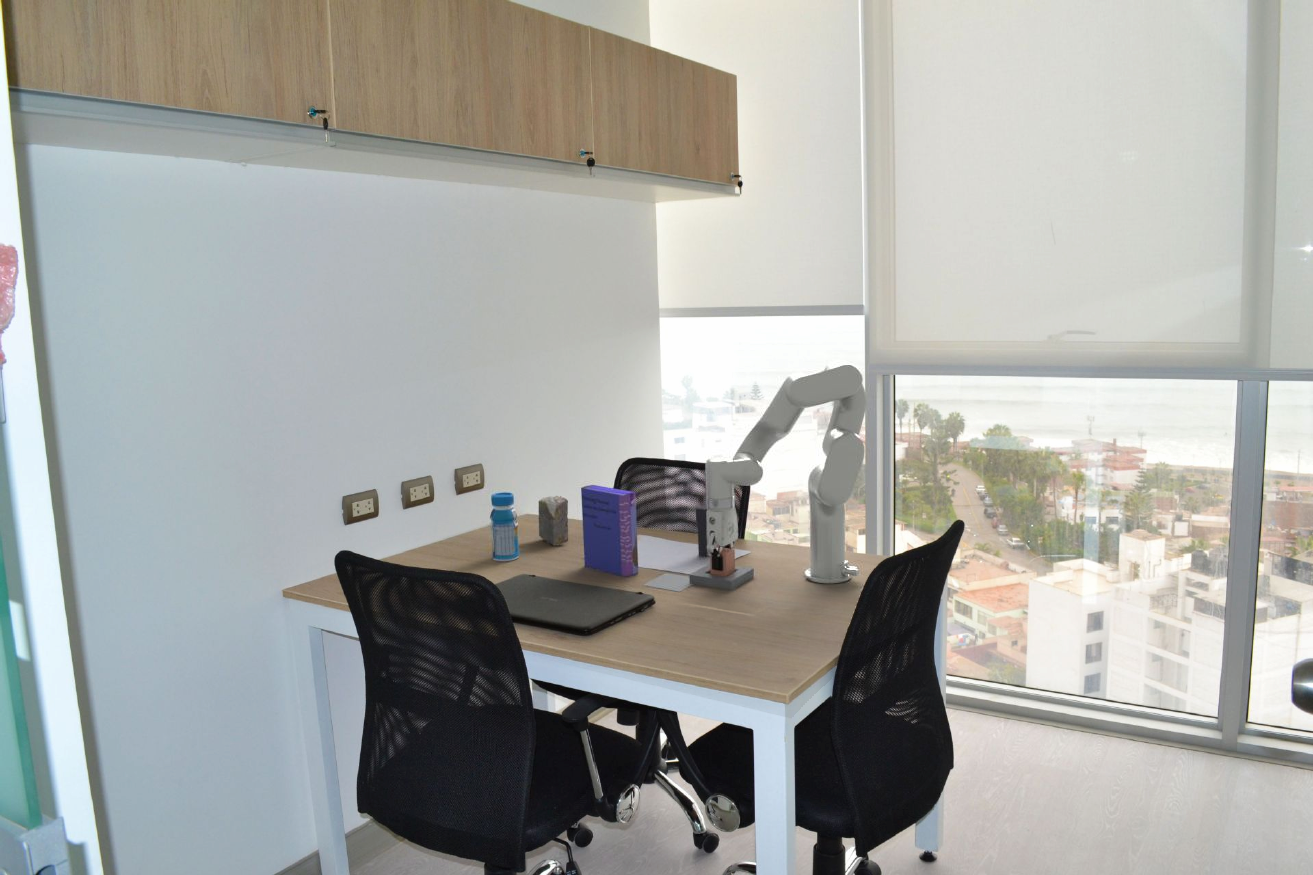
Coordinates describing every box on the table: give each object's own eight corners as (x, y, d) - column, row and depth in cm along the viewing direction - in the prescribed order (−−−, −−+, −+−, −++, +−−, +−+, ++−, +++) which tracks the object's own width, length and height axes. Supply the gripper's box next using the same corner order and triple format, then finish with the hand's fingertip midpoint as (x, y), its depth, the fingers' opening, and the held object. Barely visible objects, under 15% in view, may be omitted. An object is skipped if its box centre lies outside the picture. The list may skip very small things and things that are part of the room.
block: (735, 577, 270) (734, 549, 268) (726, 582, 266) (725, 553, 264) (719, 574, 272) (718, 547, 271) (710, 579, 268) (709, 551, 267)
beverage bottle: (501, 563, 293) (497, 499, 290) (486, 558, 299) (482, 494, 296) (525, 557, 298) (521, 494, 295) (510, 552, 305) (506, 490, 301)
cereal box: (638, 573, 279) (635, 491, 275) (626, 577, 276) (623, 494, 272) (596, 562, 291) (592, 484, 287) (584, 566, 288) (581, 487, 284)
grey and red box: (708, 558, 291) (707, 509, 289) (696, 556, 294) (695, 508, 291) (728, 549, 300) (727, 502, 297) (716, 547, 302) (715, 500, 300)
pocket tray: (753, 578, 271) (753, 568, 271) (731, 592, 260) (731, 581, 260) (713, 572, 278) (712, 561, 278) (689, 584, 267) (689, 574, 267)
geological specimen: (538, 540, 318) (536, 495, 315) (555, 537, 321) (553, 492, 319) (553, 547, 309) (551, 501, 306) (570, 544, 312) (568, 498, 310)
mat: (702, 581, 270) (702, 579, 270) (679, 593, 260) (679, 591, 260) (666, 575, 277) (666, 573, 277) (642, 587, 267) (642, 584, 267)
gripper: (717, 511, 256) (719, 577, 259) (747, 497, 270) (749, 560, 273) (692, 508, 261) (695, 574, 264) (723, 495, 275) (725, 557, 278)
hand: (722, 566), depth 268 cm, fingers closed on block, 5 cm apart
